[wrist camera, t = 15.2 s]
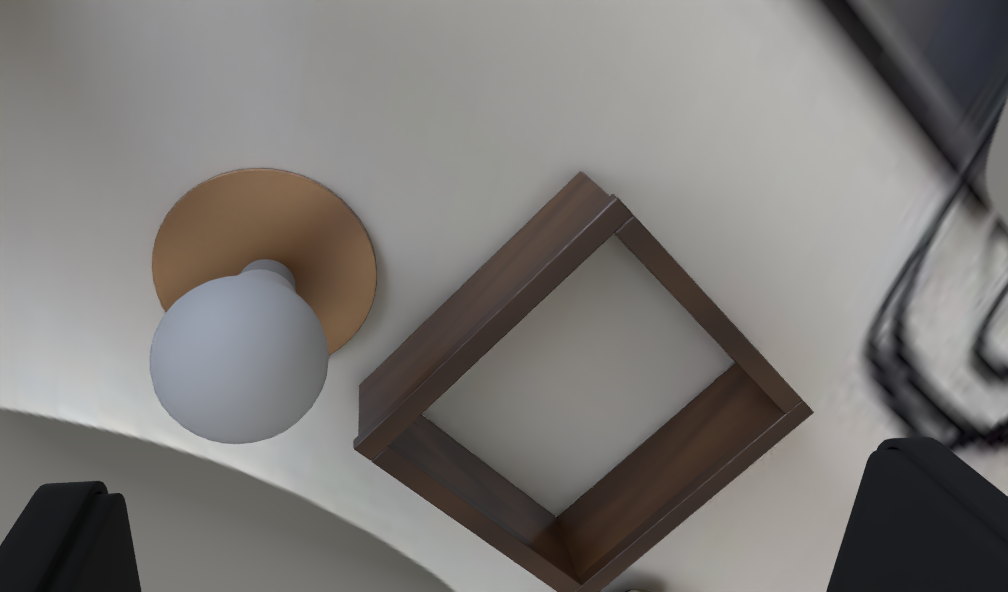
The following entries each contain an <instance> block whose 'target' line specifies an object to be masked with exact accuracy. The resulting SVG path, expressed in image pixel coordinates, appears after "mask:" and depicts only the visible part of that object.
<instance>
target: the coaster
mask: <svg viewBox="0 0 1008 592" xmlns="http://www.w3.org/2000/svg"><path fill="white" fill-rule="evenodd" d="M262 259H269V260H274V261H278V262H280V263H282V264H283V265H285V266H286V267H287V268H288V269H289V270H290V271H291V273H292V274H293V276H294V279H295V284H296V294H297V295H299V296H300V297H302V299H303V300H304V301H305V302H306V303H307V304H308V305H309V306H310V307H311V308H312V310H313V311H314V313H315V314H316V316H317V317H318V319H319V321H320V323H321V326H322V328H323V331H324V334H325V336H326V339H327V345H328V352H329V355H330V354H332V353H333V352H335V351H336V350H338V349H339V348H341V347H342V346H343V345H344V344H345V343H346V342H348V341H349V340H350V339H351V338H352V337H353V335H354V334H355V333H356V332H357V331H358V330H359V328H360V327H361V325H362V324H363V322H364V321H365V319H366V317H367V315H368V313H369V311H370V309H371V306H372V303H373V299H374V296H375V290H376V282H377V268H376V260H375V254H374V250H373V247H372V243H371V241H370V239H369V236H368V234H367V232H366V230H365V228H364V226H363V225H362V223H361V221H360V220H359V218H358V217H357V216H356V215H355V213H354V212H353V211H352V209H351V208H350V207H349V206H348V205H347V204H346V203H345V202H344V201H343V200H342V199H341V198H339V197H338V196H337V195H335V194H334V193H333V192H331V191H330V190H329V189H327V188H325V187H324V186H322V185H320V184H319V183H317V182H315V181H313V180H310V179H308V178H306V177H303V176H301V175H297V174H294V173H290V172H287V171H281V170H275V169H261V168H254V169H241V170H237V171H232V172H227V173H224V174H221V175H218V176H215V177H212V178H211V179H209V180H207V181H205V182H203V183H201V184H199V185H197V186H196V187H195V188H193V189H192V190H190V191H189V192H187V193H186V194H185V195H184V196H183V197H182V198H181V199H180V200H179V201H178V202H177V203H176V204H175V205H174V207H173V208H172V209H171V211H170V212H169V213H168V214H167V216H166V218H165V219H164V221H163V223H162V225H161V226H160V229H159V231H158V234H157V237H156V240H155V244H154V249H153V256H152V272H153V281H154V285H155V288H156V292H157V295H158V298H159V300H160V302H161V305H162V307H163V309H164V310H165V312H167V311H168V310H169V309H170V307H171V306H172V305H173V304H174V303H175V302H176V301H177V300H178V299H180V298H181V297H182V296H183V295H185V294H186V293H187V292H189V291H191V290H192V289H194V288H196V287H198V286H200V285H202V284H204V283H206V282H208V281H211V280H214V279H218V278H222V277H227V276H237V275H239V274H240V273H241V272H242V270H243V269H244V268H245V267H246V266H247V265H249V264H250V263H252V262H254V261H257V260H262Z"/></svg>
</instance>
